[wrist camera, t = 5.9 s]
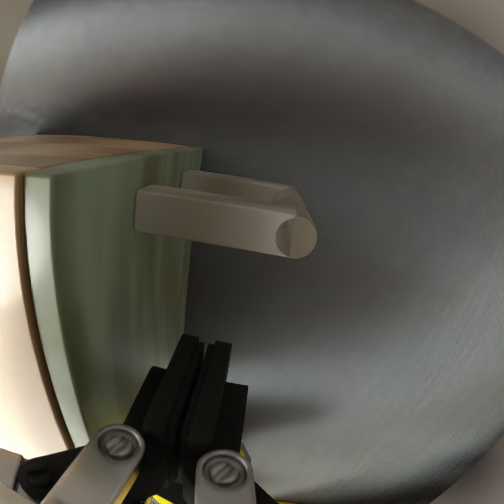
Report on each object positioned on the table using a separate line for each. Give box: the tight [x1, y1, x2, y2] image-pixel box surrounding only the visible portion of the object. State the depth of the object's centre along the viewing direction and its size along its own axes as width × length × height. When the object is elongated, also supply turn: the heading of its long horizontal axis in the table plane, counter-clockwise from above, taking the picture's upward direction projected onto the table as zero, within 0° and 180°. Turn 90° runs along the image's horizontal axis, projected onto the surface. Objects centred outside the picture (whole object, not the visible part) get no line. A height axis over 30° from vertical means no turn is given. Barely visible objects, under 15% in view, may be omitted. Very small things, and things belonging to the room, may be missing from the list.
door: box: [23, 147, 318, 448], centre depth 13 cm, size 6×15×12 cm, turn 171°
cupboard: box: [0, 134, 189, 459], centre depth 13 cm, size 11×15×13 cm
